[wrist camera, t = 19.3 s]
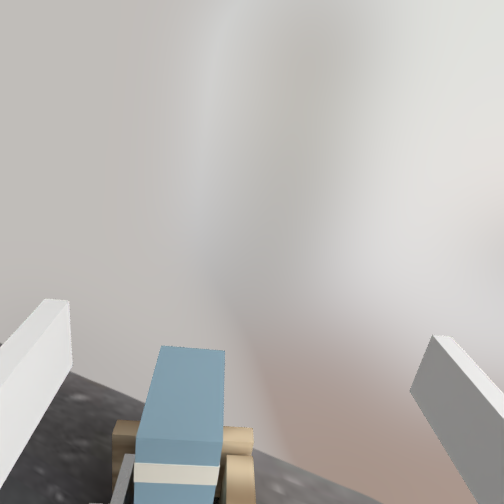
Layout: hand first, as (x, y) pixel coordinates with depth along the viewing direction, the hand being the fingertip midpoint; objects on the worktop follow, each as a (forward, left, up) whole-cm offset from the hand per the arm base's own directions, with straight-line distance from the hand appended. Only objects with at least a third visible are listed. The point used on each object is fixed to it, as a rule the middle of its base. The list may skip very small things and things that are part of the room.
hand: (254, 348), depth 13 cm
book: (-7, +11, -38) cm, 40 cm away
